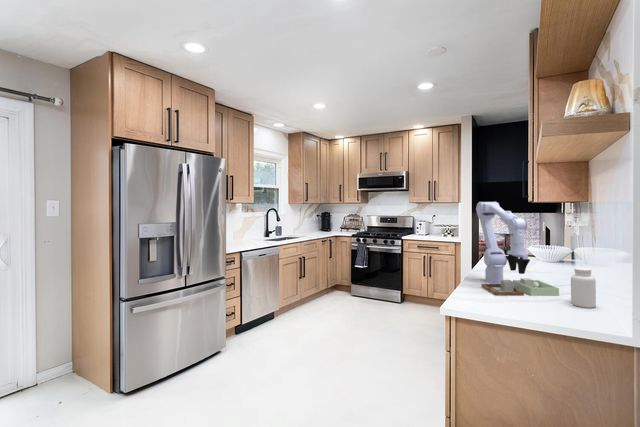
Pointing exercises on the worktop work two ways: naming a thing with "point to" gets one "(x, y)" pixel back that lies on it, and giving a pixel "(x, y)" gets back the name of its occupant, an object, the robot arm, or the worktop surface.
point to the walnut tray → (497, 293)
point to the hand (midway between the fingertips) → (517, 272)
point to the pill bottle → (583, 288)
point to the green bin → (537, 289)
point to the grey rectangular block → (527, 282)
